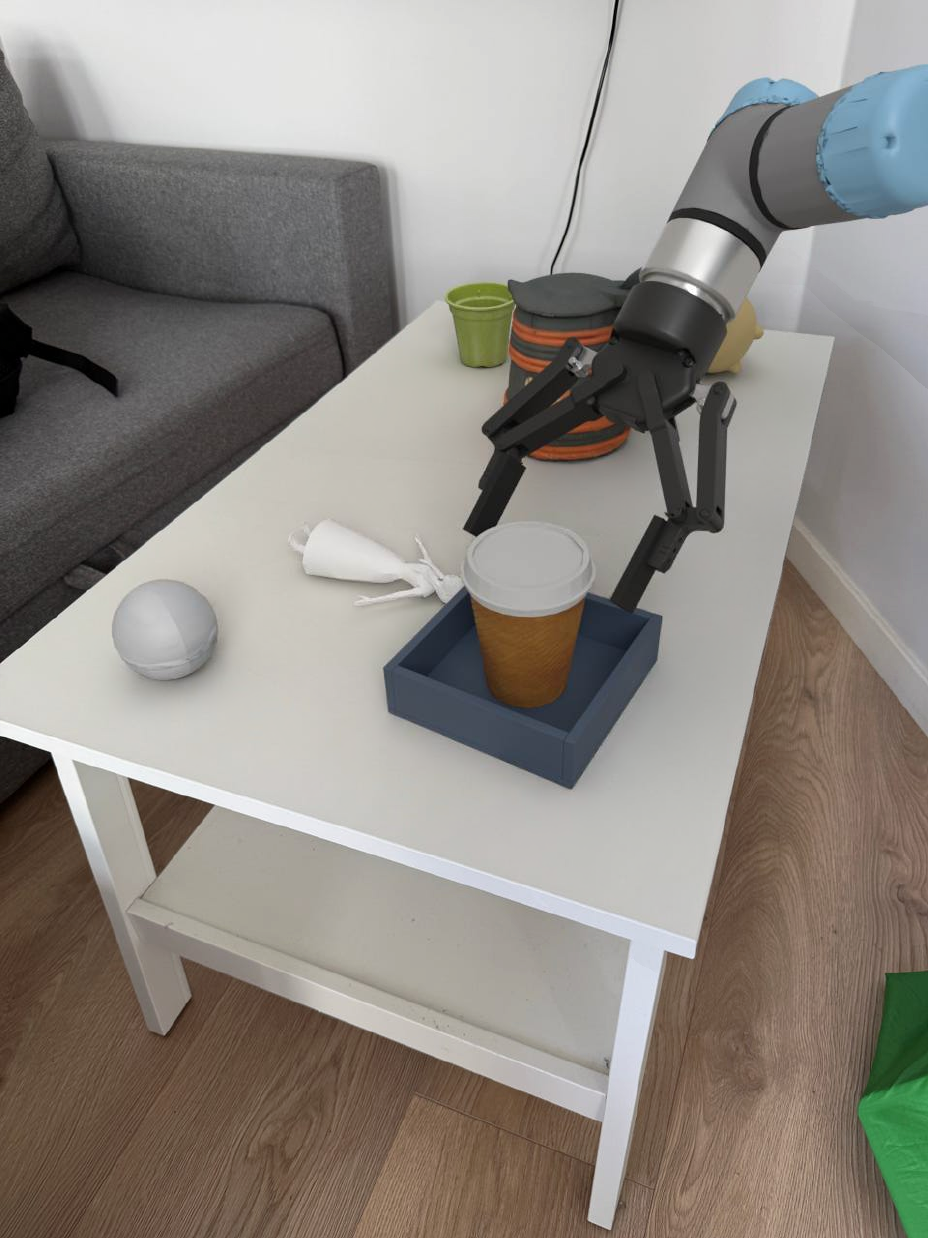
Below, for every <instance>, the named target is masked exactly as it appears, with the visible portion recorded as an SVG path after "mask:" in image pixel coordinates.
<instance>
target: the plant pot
mask: <svg viewBox="0 0 928 1238" xmlns="http://www.w3.org/2000/svg"><path fill="white" fill-rule="evenodd" d="M444 301H445V303H446V304H447V305H448V308H449V312H450V313H451V315H452V320H453V325H454V331H455V335H456V341H457V347H458V352H459V357H460V361H461V363H463V364H464V365H466V366H468V367H471V368H478V367H485V368H494V367H496V366H497V367H498V366H499V365H501V364H504V363H505V362H506V359H507V357H508V352H509V340H510V335H511V327H512V320H513V312H514V310H515V308H516V304H515V303H514V301H513V299H512V295H511V293H510V292H509V291H508V284H505V283H502V282H501V283H500V282H494V281H480V282H470V283H465V284H461V285H460V284H459V285H457V286H455V287H453V288H451V289H449V290H448V291H447V292H446V293H445V294H444Z"/></svg>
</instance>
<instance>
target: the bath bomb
mask: <svg viewBox="0 0 928 1238" xmlns="http://www.w3.org/2000/svg"><path fill="white" fill-rule="evenodd" d="M218 626H219V625H218V618H217V616H216V612H215V610H214V608H213V606H212V604H211V603H210V601H209V600H208V598H206V596H205V595H204V594H203V593H202V592H200V591H199V590H198V589H197V588H195V587H194V586H192V585H190V584H187V582H186V583H185V582H184V581H181V580H176V579H166V578H165V579H164V578H163V579H162V578H161V579H154V580H150V581H147V582H144V583H142V584H139V585H138V586H137V587H135V588H133V589H132V590H131V591H129V592H128V593H127V594H126V595H125V596H124V597H123V598H122V600H121V601H120V603H119V604H118V605H117V607H116V609H115V611H114V614H113V618H112V624H111V635H112V636H111V637H112V640H113V645H114V648H115V649H116V652H117V654H118V656H119V657H120V659H121V661H123V662H124V664H126V666H127V667H128V668H130V670H133V671H134V672H135V673H137V674H139V675H141V676H143V677H146V678H150V679H153V680H158V681H170V680H176V679H180V678H183V677H186V676H189V675H190V674H192V673H194V672H196V671H197V670H199V669H200V668H201V667H202V666H203V665H204V664H205V663H206V662H207V661H208V660H209V658H210V656H211V655H212V653H213V651H214V649H215V647H216V643H217V641H218V632H219V627H218Z"/></svg>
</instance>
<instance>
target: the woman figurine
mask: <svg viewBox="0 0 928 1238" xmlns="http://www.w3.org/2000/svg"><path fill="white" fill-rule="evenodd" d="M301 531H302V532H303V533H302V535H303V536H304V537H305V538H307V540H306V542H305V545H304V544H301V543H299V541H298V540H297V538H296V537H295V536H294V532H291V534H289V536H288V543H289V549H290V550H292V551H294V552H296V553H299V554H300V555H302V557H303V559H302V562H301V563H302V564H301V565H302V567H303V569H304V571H305V573H306V575H310V576H317V577H324V578H330V579H335V580H341V581H349V582H350V581H351V582H360V583H361V582H363V583H371V584H372V583H374V584H389V583H393V582H395V581H398V580H403V581H405V582H406V583H408V584H409V585H411V586H412V587H413V588H410V589H405V590H404V589H403V590H399V591H396V592H392V593H388V594H386V595H380V596H377V597H369V596H366V595H357V596H358V598H362V599H360V600H359V599H358V600H354V601H353V604H352V606H354V607H359V608H360V607H364V606H368V605H371V604H376V603H381V602H387V601H397V600H400V599H405V598H412V597H422V598H426V597H429V596H430V595H433V594H434V593H436V595H437V596H438V598H439V600H440V601H441V602H442V603H444V604H445V605H446V604H447V603H448V602H449V601H450V600H451V599H452V598H453V597H454V596H455V595H456V594H457V593H458V592H459V591H460V590H461V589H462V587H463V586H464V583H463V581H462V576H461V575H460V576H458V575H456V574H446V575H445V574H444V573H443V572H442V571H441V570H439V568H438V567H437V566H436V564H435V563H434V561H433V559H432V557H431V555H430V554H429V553H428V551H427V549H426V547H425V546H424V544H423V542H422V540H421V538H420V536H419V535H418V534H417V533H415V535H414V534H413V538H414V541H415V542H416V544H417V546H418V547H419V550H420V551H421V553H422V557H423V558H418V561H420V562H421V563H415V562H408V561H407V560H405V558H404V557H403V556H402V555H399V554H397V553H396V552H394V551H393V550H391V549H389V548H387V547H385V546H383V545H381V544H380V543H378V542H377V541H375V540H374V539H373V540H372V539H371V538H369V537H368V536H366V535H365V534H363V533H361V532H359V531H358V530H356V529H353V528H351V527H350V526H347V525H345V524H343V523H341V522H339V521H337V520H336V519H333V518H332V519H331V518H327V519H324V520H323V521H321V522H320V523H318V524H316V526H315V528H314V529H313V530H311V529H310V527H309V525H308V523H307V521H304V522H303V523H302V524H301Z"/></svg>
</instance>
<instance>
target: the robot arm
mask: <svg viewBox="0 0 928 1238" xmlns="http://www.w3.org/2000/svg"><path fill="white" fill-rule="evenodd" d="M924 207H928V63H924V64H923V63H922V64H917V65H913V66H909V67H904V68H900V69H896V70H892V71H880V72H878V73H876V74H875V73H874V74H871V75H869V76H866V77H865V78H864V79H863V81H860V82H857V83H855V84H852V85H849V86H846V87H843V88H841V89H838V90H835V91H832V92H829V93H827V94H824V95H821V96H819V95H818V94H817V93H816V92H814V91H813V90H812V89H810V88H809V87H808V86H806V85H804V84H802V83H800V82H798V81H795V80H793V79H789V78H784V77H782V78H780V79H779V80H777V81H776V80H774V79H772V78H770V77H766V76H765V77H760V78H756V79H753V80H750V81H749V82H747V83H745V84H744V85H743V86H742V87H740V88H739V89H738V90H737V91H736V93H735V94H734V95H733V97H732V98H731V100H730V102H729V104H728V106H727V108H726V109H725V111H724V112H723V114H722V116H721V117H720V118H718V120H717V121H716V123H715V125H714V127H713V128H711V130H710V132H709V135H708V136H707V139H706V143H705V145H704V147H703V149H702V152H701V153H700V155H699V157H698V160H697V161H696V163H695V165H694V167H693V169H692V171H691V173H690V175H689V177H688V179H687V181H686V183H685V184H684V187H683V189H682V191H681V193H680V196H678V199H677V201H676V203H675V204H674V207H673V209H672V211H671V212H670V215H669V216H668V219H667V222H666V223H665V224H664V225H663V228H662V229H661V231H660V234H658V236H657V239H656V241H655V243H654V244H653V247H652V249H651V250H650V251H649V254H648V256H647V258H646V260H645V261H644V262H643V265H642V266H641V267H642V269H641V271H640V273H639V280H640V283H639V284H636V285H634V286H633V287H632V289H631V291H630V293H629V295H628V297H627V299H626V301H625V302H624V304H623V306H622V308H621V310H620V312H619V314H618V316H617V318H616V320H615V322H614V324H613V327H612V332H611V336H610V339H609V342H608V343H607V344H606V346H605V347H604V348H603V349H602V350H601V351H599V352H598V353H597V352H595V351H593V350H591V349H589V348H587V347H584V346H583V345H582V344H581V342H580V341H579V340H578V339H577V338H576V337H570V338H568V339H567V340H566V341H565V343H564V344H563V346H562V347H561V349H560V350H559V352H558V354H557V355H556V357H555V358H554V360H553V361H552V362H551V363H550V364H549V365H548V366H547V367H546V368H544V369H543V370H542V371H541V372H540V373H539V374H538V375H537V376H536V377H535V378H533V379H532V380H531V381H530V382H529V383H528V384H527V385H526V386H525V387H524V388H522V389H521V390H520V391H519V392H518V393H517V394H516V395H515V396H514V397H512V398H511V399H510V400H509V401H508V402H507V403H506V404H505V405H504V406H503V405H502V406H501V407H500V408H499V409H498V410H497V411H496V412H495V413H494V414H492V415H491V416H490V417H489V418H488V419H487V420H486V421H485V422H484V423H483V424H482V426H481V433H482V435H484V436H485V437H486V438H487V439H488V440H489V441H490V442H491V444H492V445H493V448H494V451H493V454H492V456H491V457H490V459H489V461H488V463H487V465H486V467H485V470H484V471H483V473H482V475H481V476H480V478H479V481H478V485H477V488H478V489H479V490H480V491H481V493H480V494H479V496H478V497H477V500H476V501H475V503H474V505H473V507H472V509H471V511H470V514H469V516H468V518H467V519H466V522H465V524H464V525H463V528H462V530H463V531H465V532H467V533H468V534H470V535H471V536H473V537H475V538H476V537H477V536H479V535H480V534H481V533H483V532H485V531H486V530H488V529H491V528H493V527H495V526H498V524H499V522H500V519H501V518H502V516H503V514H504V512H505V509H506V508H507V506H508V504H509V503H510V501H511V499H512V496H513V494H514V493H515V491H516V489H517V487H518V485H519V483H520V481H521V479H522V477H523V476H524V473H525V471H526V469H527V467H526V466H525V465H524V463H523V459H524V458H526V457H529V456H528V455H529V454H531V453H533V452H535V451H536V450H538V449H540V448H542V447H543V446H545V445H547V444H549V443H550V442H552V441H554V440H556V439H557V438H559V437H561V436H563V435H565V434H566V433H568V432H570V431H572V430H573V429H575V428H577V427H579V426H580V425H582V424H584V423H586V422H588V421H596V420H598V419H600V418H602V417H603V416H605V417H606V418H607V420H608V421H610V422H613V423H616V424H624V425H629V426H630V427H631V429H633V430H634V431H636V432H639V433H642V434H645V433H646V432H649V434H650V437H651V441H652V442H651V443H652V447H653V451H654V455H655V460H656V466H657V469H658V475H659V481H660V484H661V489H662V494H663V499H664V504H665V509H666V511H664V515H665V516H666V518H667V519H665V518H664V517H661V516H659V515H657V514H654V515H653V517H652V518H651V520H650V522H649V524H648V526H647V528H646V529H645V531H644V533H643V535H642V537H641V539H640V541H639V542H638V545H637V547H636V549H635V550H634V552H633V554H632V556H631V558H630V559H629V561H628V564H627V565H626V567H625V569H624V570H623V573H622V575H621V577H620V579H619V581H618V583H617V584H616V586H615V588H614V589H613V590H614V591H613V592H612V594H611V596H610V598H608V599H609V601H610V602H612V603H613V604H615V605H617V606H618V607H620V608H621V609H623V610H625V611H627V612H629V613H631V614H633V612H634V610H635V608H638V604H639V603H640V601H641V599H642V597H643V595H644V593H645V592H646V590H647V587H648V586H649V584H650V583H651V580H652V578H653V576H654V575H655V573H656V571H657V572H658V573H661V574H663V575H664V574H666V573H667V572H668V571H669V570H670V569H671V568H672V566H673V564H674V562H675V560H676V558H677V556H678V554H679V553H680V551H681V549H682V546H683V545H684V543H685V542H686V539H687V538H688V537H689V536H690V534H693V533H694V532H709V533H710V534H718V533H720V532H721V531H722V530H723V529H724V526H725V517H726V516H725V513H726V485H727V484H726V480H727V455H728V454H727V453H728V428H729V426H730V423H731V420H732V418H733V415H734V413H735V411H736V408H737V407H738V406H737V405H738V402H737V401H738V400H737V398H736V397H735V396H734V393H732V390H731V389H730V388H729V385H728V384H727V383H726V382H725V381H716V382H714V383H712V384H711V385H708V384H702V383H701V381H702V379H703V376H704V375H705V374H706V373H707V371H708V369H709V367H710V365H711V364H712V362H713V360H714V358H715V356H716V354H717V352H718V350H719V348H720V346H721V345H722V343H723V341H724V339H725V337H726V335H727V328H726V324H729V323H731V322H733V320H734V319H735V317H736V315H737V313H738V312H739V310H740V308H741V306H742V304H743V302H744V300H745V298H746V297H747V296H748V294H749V293H750V291H751V289H752V287H753V285H754V283H755V281H756V279H757V277H758V276H759V273H760V272H761V270H762V268H763V266H764V265H765V263H766V260H767V259H768V257H769V255H770V253H771V251H772V249H773V248H774V246H775V244H776V243H777V241H778V239H779V237H780V236H781V234H782V233H783V232H789V231H797V230H804V229H809V228H811V227H817V226H825V225H831V224H839V223H846V222H852V221H858V220H864V219H869V220H879V219H880V220H881V219H886V218H887V217H888V218H889V216H898V215H903V214H906V213H907V214H908V213H910V212H913V211H914V210H917V209H919V208H924ZM590 370H592V378H590V379H588V380H587V381H585V382H583V383H581V384H580V385H578V386H576V387H575V388H573V389H572V390H571V392H570V395H569V396H567V397H565V398H564V399H562V400H560V401H559V402H557V403H555V404H554V405H552V404H553V403H554V402H556V401H557V400H558V399H559V398H560V397H561V396H562V395H563V394H565V393H566V392H567V391H568V390H569V389H570V388H571V387H572V386H573V385H574V384H575V383H576V382H577V381H578V379H579V378H580V377H583V378H584V377H586V376H587V375H588V371H590ZM593 397H594V399H595V401H591V400H590V399H591V398H593ZM695 404H696V408H695V409H696V411H697V413H698V414H699V424H698V445H697V447H698V448H697V472H696V473H697V474H696V499H695V506H694V505H693V500H692V495H691V491H690V486H689V482H688V477H687V473H686V468H685V464H684V458H683V454H682V449H681V446H680V441H681V437H680V433H679V428H678V423H677V419H676V417H677V416H678V415H679V414H681V413H683V412H684V411H686V410H688V409H689V408H691V407H692V406H693V405H695ZM551 405H552V406H551Z"/></svg>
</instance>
